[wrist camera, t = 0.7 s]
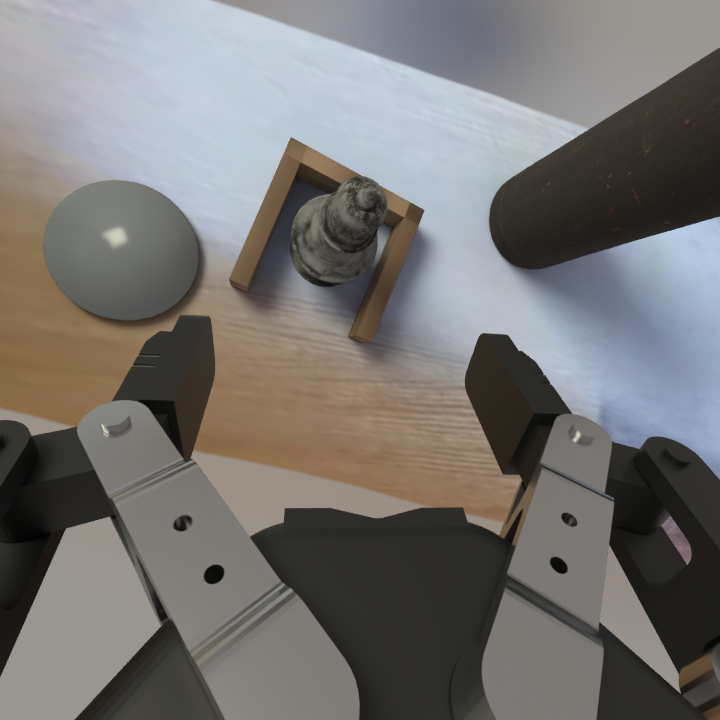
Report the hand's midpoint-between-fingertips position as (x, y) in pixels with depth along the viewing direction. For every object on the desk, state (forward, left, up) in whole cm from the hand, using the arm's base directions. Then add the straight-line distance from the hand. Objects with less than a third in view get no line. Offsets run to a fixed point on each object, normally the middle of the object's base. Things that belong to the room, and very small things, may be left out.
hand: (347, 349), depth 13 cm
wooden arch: (0, +8, -19) cm, 20 cm away
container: (+15, +18, -19) cm, 30 cm away
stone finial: (0, +8, -19) cm, 20 cm away
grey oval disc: (-12, +2, -19) cm, 22 cm away
